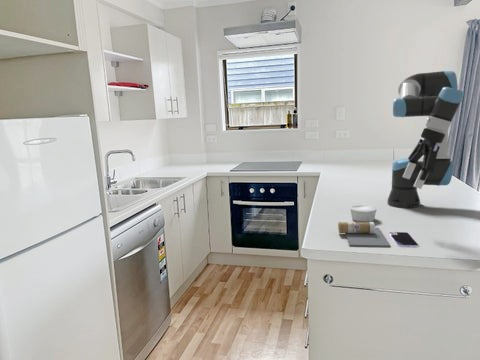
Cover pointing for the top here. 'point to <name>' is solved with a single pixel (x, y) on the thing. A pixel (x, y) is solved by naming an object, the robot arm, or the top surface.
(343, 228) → the sprinkles bottle
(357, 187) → the top surface
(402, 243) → the mobile phone
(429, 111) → the robot arm
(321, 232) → the top surface
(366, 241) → the charcoal mat
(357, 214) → the ramekin
